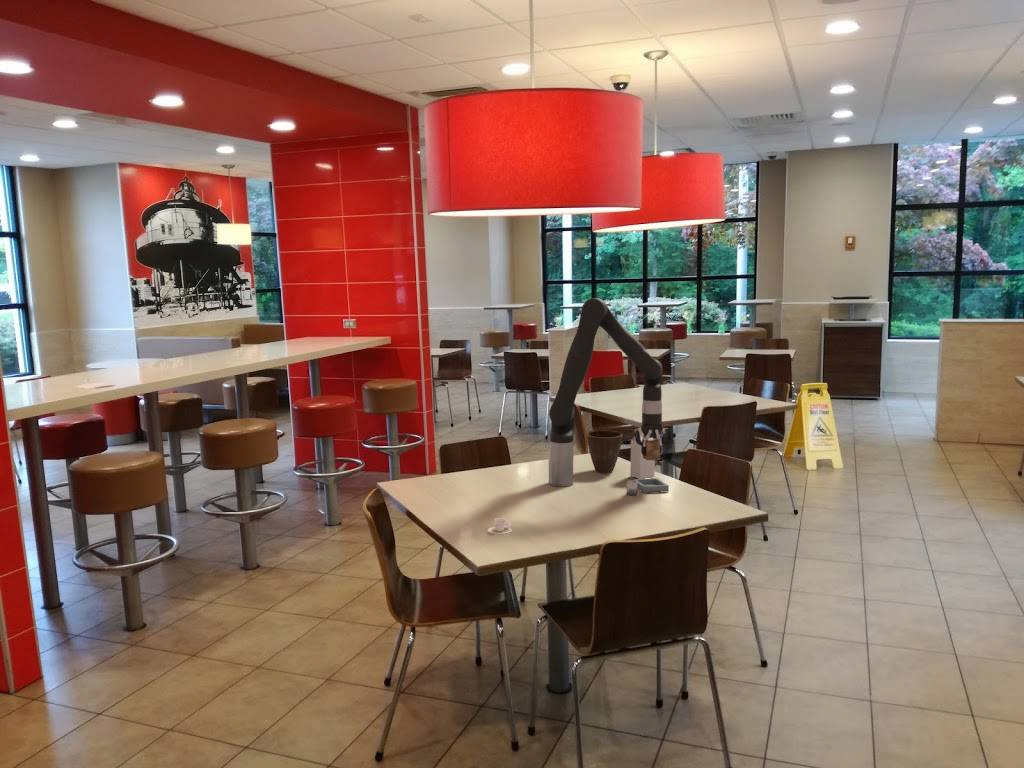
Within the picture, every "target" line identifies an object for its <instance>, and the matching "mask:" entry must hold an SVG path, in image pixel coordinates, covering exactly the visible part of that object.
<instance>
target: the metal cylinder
mask: <svg viewBox="0 0 1024 768" xmlns="http://www.w3.org/2000/svg"><path fill="white" fill-rule="evenodd" d="M625 494H626V496H628V495H629V496H628V497H636V495H637V496H638V489H637V481H633V480H627V481H626V493H625Z"/></svg>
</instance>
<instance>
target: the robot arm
mask: <svg viewBox="0 0 1024 768" xmlns="http://www.w3.org/2000/svg"><path fill="white" fill-rule="evenodd" d="M599 328H602V329H603V330H604V331H605V332H606V334H608V335H609V336H610V338H611V339H612V340H613V342H614V343H615V344H616V346H617V347H618V348H619V349H620V350H621V352H622V353H624V354H625V356H626V357H627V358H628V359H629V360H631V361H632V362H633V363H634V365H635V366H636V367H637V369H638V370H639V371H640V372H641V374H642V375H644V376H643V377H644V379H643V381H644V382H643V383H644V384H643V385H644V386H643V388H642V404H641V426H640V428H638V429H637V428H634V430H633V432H634V433H633V434H634V436H635V438H636V443H637V444H639V445H641V453H642V454H643V456H646V442H647V441H648V440H649V438H653V439H655V440H657V441H659V442H660V455H661V454H662V446H663V445H666V444H667V442H668V438H669V436H670V435H669V434H670V428H668V427H663V425H662V423H663V419H662V418H663V403H662V395H663V394H662V393H663V392H662V380H663V364H662V363H661V362H660V360H658V359H656V358H653V356H651V354H650V353H648V351H647V349H646V347H644V345H643V344H642V343H641V342H640V341H639V339H637V338H636V337H635V336H634V335H633V334H632V333H631V332H630V331H629V330H628V329H627V328H626V327H625V326H623V325H622V324H621V322H620V321H619V320H618V319H617V318H616V316H615V315H614V314H613V313H612V311H611V309H610V308H609V307H608V305H607V303H606V302H605V301H604V300H603V299H601V298H598V297H592V298H589V299H587V300H586V301H584V303H583V305H582V307H581V311H580V317H579V321H578V326H577V329H576V333H575V335H574V337H573V339H572V343H571V345H570V348H569V350H568V352H567V356H566V359H565V361H564V366H563V370H562V373H561V378H560V383H559V386H558V389H557V393H556V396H554V397H555V398H554V399H553V402H552V404H551V406H550V408H549V411H548V416H549V419H550V421H551V424H550V425H551V429H550V434H549V444H550V445H549V449H550V450H549V459H548V483H549V484H550V485H551V486H552V487H554V486H555V487H569V486H572V485H574V435H575V416H576V415H575V414H576V413H575V408H574V405H575V402H576V398H577V395H578V392H579V390H580V388H581V387H582V384H583V382H584V380H585V378H586V376H587V373H588V371H589V367H590V364H591V361H592V357H593V352H594V347H595V346H594V345H595V339H596V335H597V332H598V329H599ZM641 432H643V434H644V435H643V438H642V442H641V438H640V434H641ZM661 433H662V436H660V434H661ZM661 437H662V438H661Z"/></svg>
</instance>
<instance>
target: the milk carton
mask: <svg viewBox="0 0 1024 768" xmlns="http://www.w3.org/2000/svg"><path fill="white" fill-rule="evenodd" d="M643 435H644V434H643V432H642V431H641V434H640V438H641V442H642V438H643ZM654 439H655V438H649V440H654ZM655 466H656V460H646V459H644V458H643V454H642V453H641V445H639V444H637V443H636V438H635V435H634V436H633V437H632V439H631V440H630V468H629V469H630V471H629V472H630V474H629V475H630V477H631V476H633V477H632V478H634V477H636V478H638V479H645V478H652V477H654V478H655V476H656V475H655V472H656V471H655V470H656V469H655ZM636 478H635V479H636Z"/></svg>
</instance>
